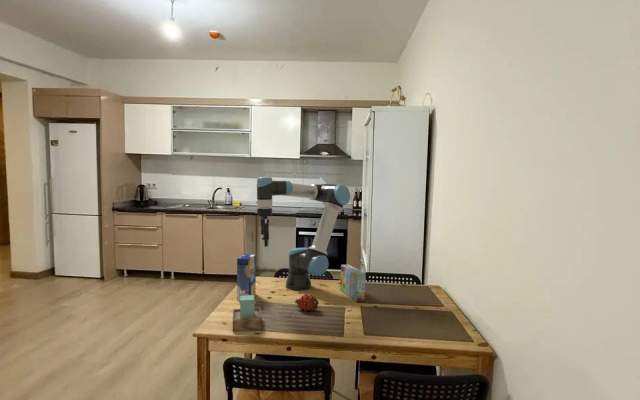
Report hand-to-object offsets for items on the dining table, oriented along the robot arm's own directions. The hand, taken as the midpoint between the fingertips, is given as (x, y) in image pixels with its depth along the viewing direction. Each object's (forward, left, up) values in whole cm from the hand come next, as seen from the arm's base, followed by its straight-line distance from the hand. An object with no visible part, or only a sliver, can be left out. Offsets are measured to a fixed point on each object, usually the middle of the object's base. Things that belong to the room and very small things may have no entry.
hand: (264, 249), depth 180 cm
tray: (+9, +23, -28) cm, 38 cm away
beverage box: (+9, -13, -28) cm, 33 cm away
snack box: (-49, -7, -29) cm, 57 cm away
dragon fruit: (-20, +11, -28) cm, 36 cm away
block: (+9, +23, -24) cm, 35 cm away
